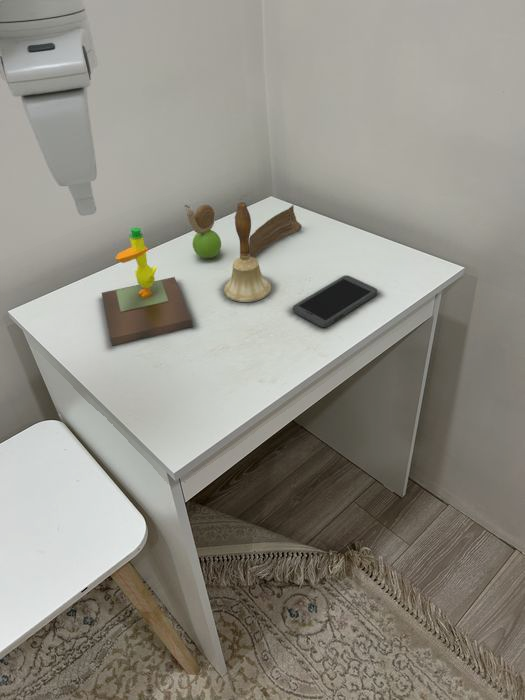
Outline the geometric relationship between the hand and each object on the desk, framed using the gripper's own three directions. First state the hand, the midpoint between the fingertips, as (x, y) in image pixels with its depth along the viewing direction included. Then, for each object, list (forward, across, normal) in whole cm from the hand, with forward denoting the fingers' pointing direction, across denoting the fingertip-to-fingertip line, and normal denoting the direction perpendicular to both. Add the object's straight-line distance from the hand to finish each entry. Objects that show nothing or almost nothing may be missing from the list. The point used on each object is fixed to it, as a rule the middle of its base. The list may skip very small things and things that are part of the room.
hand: (84, 194), depth 59 cm
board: (+29, -19, +4) cm, 35 cm away
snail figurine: (+29, -33, +18) cm, 48 cm away
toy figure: (+28, -22, +4) cm, 36 cm away
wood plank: (+29, -33, +32) cm, 55 cm away
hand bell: (+29, -19, +22) cm, 41 cm away
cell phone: (+29, -9, +34) cm, 46 cm away
